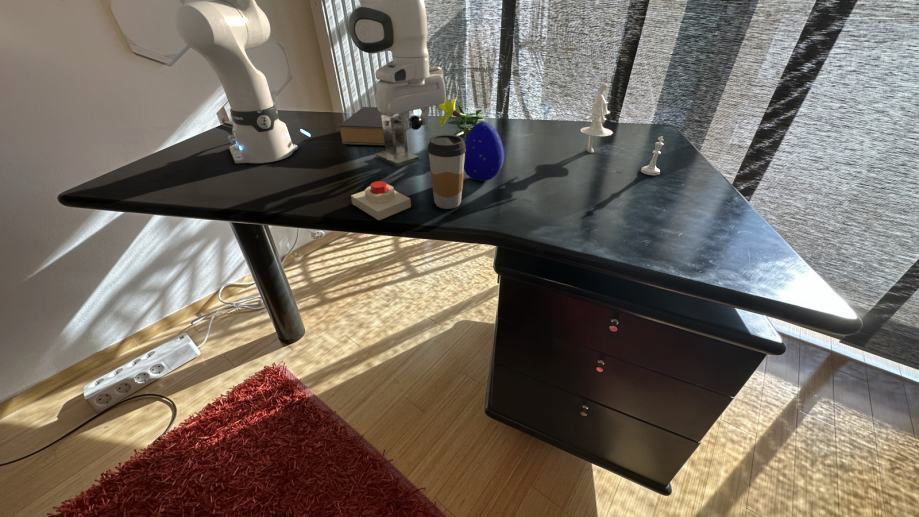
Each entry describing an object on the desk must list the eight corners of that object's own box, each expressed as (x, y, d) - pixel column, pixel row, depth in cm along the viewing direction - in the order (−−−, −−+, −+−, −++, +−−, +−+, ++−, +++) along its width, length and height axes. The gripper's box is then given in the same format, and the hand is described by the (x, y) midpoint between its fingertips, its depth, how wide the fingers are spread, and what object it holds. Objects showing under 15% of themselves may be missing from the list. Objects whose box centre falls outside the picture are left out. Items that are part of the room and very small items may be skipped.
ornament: (506, 176, 98) (510, 120, 89) (493, 189, 91) (497, 129, 83) (469, 169, 102) (470, 114, 93) (454, 181, 95) (454, 123, 87)
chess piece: (648, 176, 99) (660, 139, 93) (636, 169, 103) (647, 134, 97) (663, 174, 100) (676, 138, 94) (651, 167, 104) (663, 132, 98)
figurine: (612, 159, 109) (630, 87, 97) (579, 157, 110) (594, 86, 98) (603, 145, 120) (619, 79, 108) (574, 143, 121) (586, 78, 109)
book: (410, 126, 137) (408, 108, 133) (394, 148, 116) (392, 127, 112) (365, 124, 138) (363, 106, 134) (342, 146, 118) (338, 125, 114)
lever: (425, 128, 96) (423, 114, 95) (415, 131, 94) (412, 117, 93) (397, 126, 105) (394, 113, 103) (387, 129, 103) (384, 115, 101)
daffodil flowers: (508, 135, 131) (489, 137, 99) (473, 154, 136) (444, 161, 105) (488, 91, 128) (462, 78, 96) (453, 112, 133) (418, 106, 102)
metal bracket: (419, 160, 108) (416, 115, 100) (397, 167, 103) (393, 121, 96) (397, 151, 114) (392, 108, 107) (376, 157, 110) (370, 113, 102)
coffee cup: (464, 195, 89) (465, 133, 80) (466, 211, 82) (467, 146, 73) (430, 195, 89) (427, 134, 80) (429, 211, 82) (426, 146, 73)
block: (352, 203, 85) (349, 188, 82) (383, 192, 90) (381, 177, 88) (378, 220, 78) (376, 204, 76) (411, 207, 84) (409, 191, 81)
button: (368, 191, 82) (367, 184, 81) (381, 186, 84) (380, 179, 83) (377, 196, 80) (376, 189, 79) (390, 191, 82) (389, 184, 81)
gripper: (434, 63, 96) (436, 117, 104) (369, 72, 84) (377, 131, 92) (450, 66, 92) (451, 121, 100) (384, 75, 81) (391, 137, 89)
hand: (415, 126), depth 96 cm, fingers closed on lever, 3 cm apart
